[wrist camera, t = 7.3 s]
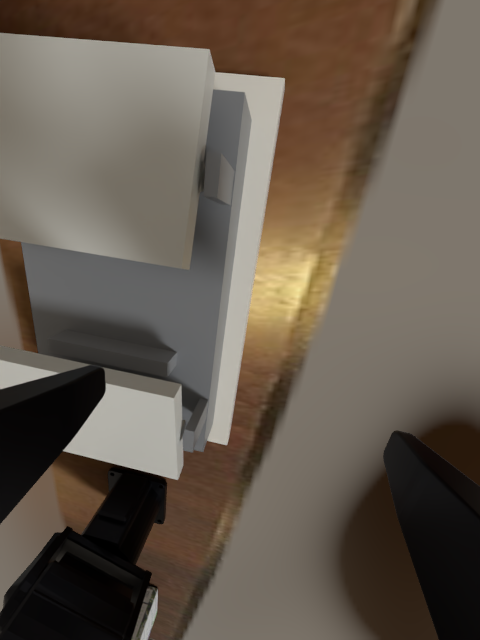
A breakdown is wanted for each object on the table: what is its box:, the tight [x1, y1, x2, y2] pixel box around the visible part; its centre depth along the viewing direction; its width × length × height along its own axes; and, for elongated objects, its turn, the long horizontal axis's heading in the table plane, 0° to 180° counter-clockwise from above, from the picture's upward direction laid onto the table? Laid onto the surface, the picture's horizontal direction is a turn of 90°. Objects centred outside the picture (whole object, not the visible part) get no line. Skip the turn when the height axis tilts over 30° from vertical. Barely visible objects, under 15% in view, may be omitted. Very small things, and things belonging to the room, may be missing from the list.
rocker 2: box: [0, 346, 186, 480], centre depth 16 cm, size 8×11×2 cm
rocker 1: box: [0, 33, 215, 270], centre depth 11 cm, size 8×11×2 cm
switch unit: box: [21, 72, 285, 452], centre depth 16 cm, size 26×16×7 cm, turn 172°
